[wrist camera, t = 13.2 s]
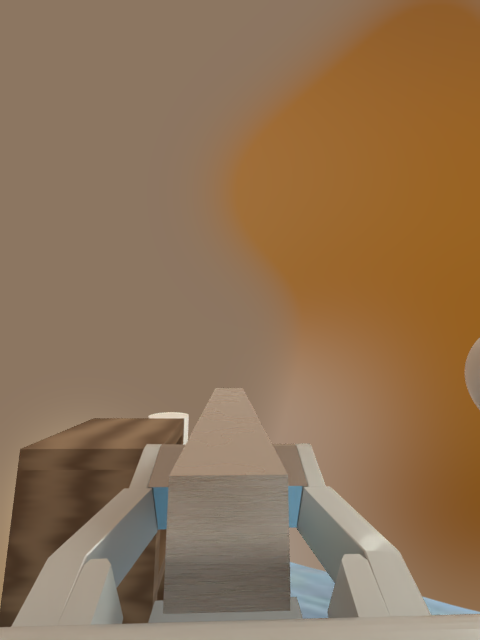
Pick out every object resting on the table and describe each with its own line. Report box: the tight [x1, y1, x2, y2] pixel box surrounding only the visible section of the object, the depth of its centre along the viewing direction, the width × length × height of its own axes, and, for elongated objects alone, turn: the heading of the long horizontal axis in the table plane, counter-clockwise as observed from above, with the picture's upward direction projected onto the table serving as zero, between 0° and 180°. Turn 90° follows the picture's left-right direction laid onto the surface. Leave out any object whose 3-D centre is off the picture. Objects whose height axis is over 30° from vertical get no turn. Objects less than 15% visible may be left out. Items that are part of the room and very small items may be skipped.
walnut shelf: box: [0, 418, 184, 627], centre depth 33 cm, size 14×15×26 cm
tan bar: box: [163, 388, 290, 614], centre depth 16 cm, size 3×20×3 cm, turn 2°
